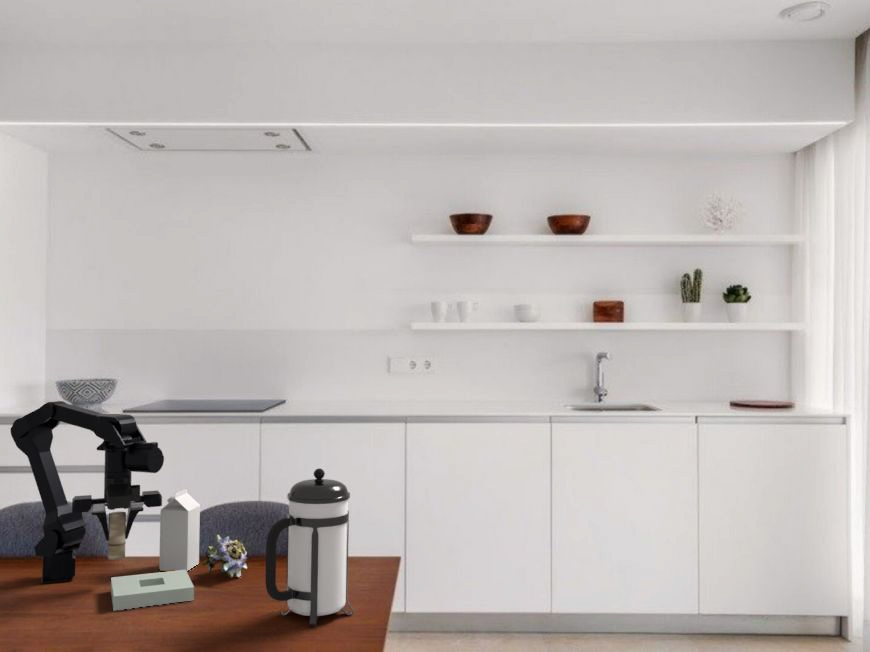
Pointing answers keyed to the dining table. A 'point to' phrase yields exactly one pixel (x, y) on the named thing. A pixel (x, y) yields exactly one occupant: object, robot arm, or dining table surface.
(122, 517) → the peg
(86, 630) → the dining table surface
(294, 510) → the coffee press
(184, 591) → the board
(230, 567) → the passion flower
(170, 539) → the milk carton
